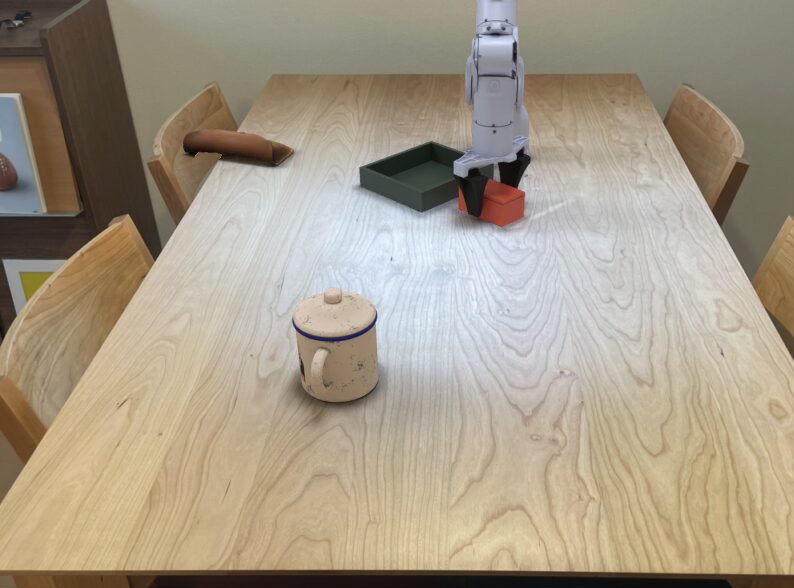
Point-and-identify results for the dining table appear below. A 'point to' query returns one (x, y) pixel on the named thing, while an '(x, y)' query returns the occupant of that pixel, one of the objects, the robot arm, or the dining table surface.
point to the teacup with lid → (337, 345)
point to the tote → (417, 176)
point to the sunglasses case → (236, 145)
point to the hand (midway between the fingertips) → (491, 207)
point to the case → (499, 203)
